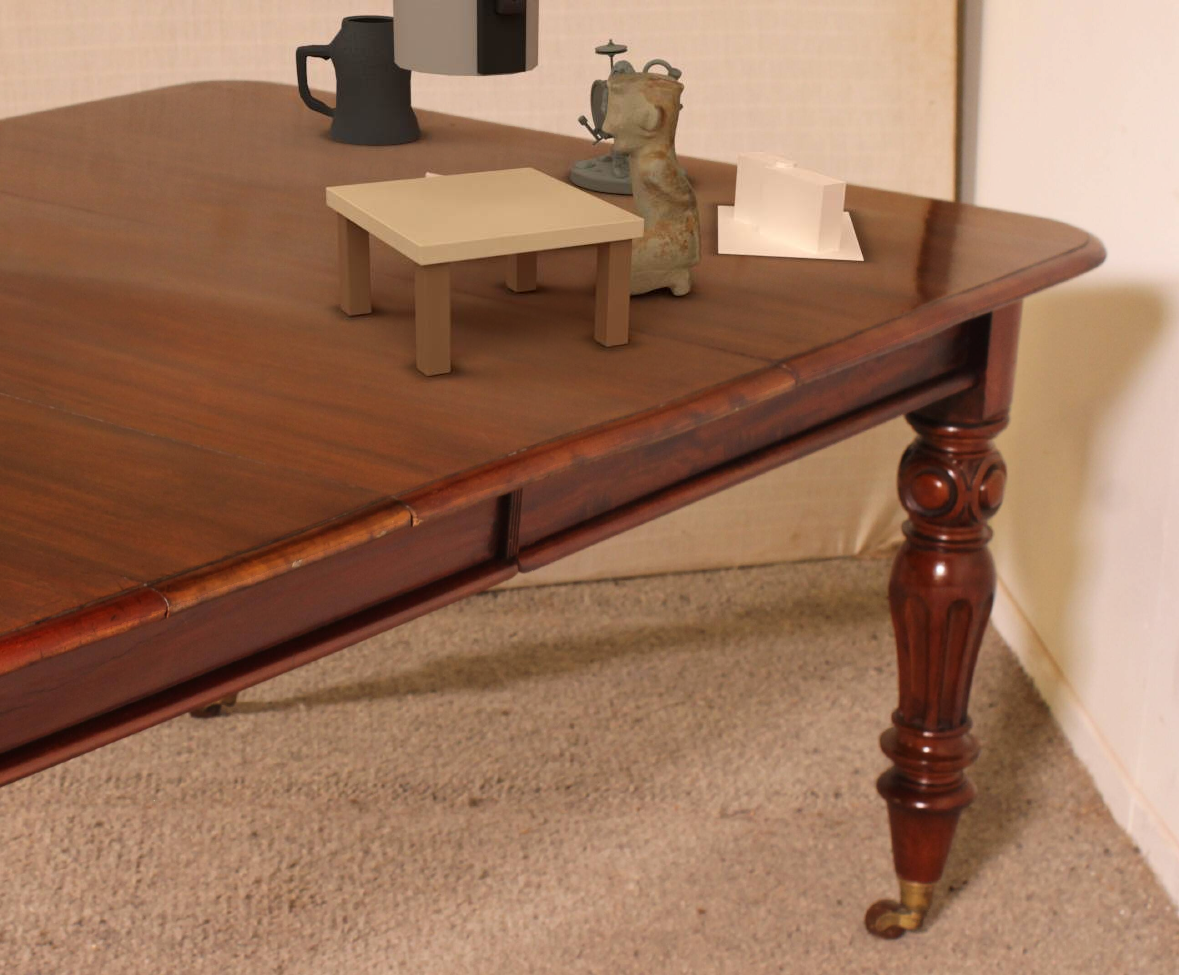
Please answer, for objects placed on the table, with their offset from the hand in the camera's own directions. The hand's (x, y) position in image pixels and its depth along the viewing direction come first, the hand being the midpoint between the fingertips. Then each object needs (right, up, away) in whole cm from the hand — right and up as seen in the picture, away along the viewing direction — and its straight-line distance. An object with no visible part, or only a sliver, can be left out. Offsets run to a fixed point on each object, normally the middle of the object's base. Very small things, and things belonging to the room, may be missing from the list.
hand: (467, 59), depth 88 cm
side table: (0, -15, +9) cm, 17 cm away
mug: (-16, +10, +62) cm, 64 cm away
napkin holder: (+23, -5, +33) cm, 41 cm away
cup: (0, 0, 0) cm, 0 cm away
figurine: (+11, +2, +48) cm, 49 cm away
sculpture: (+11, -12, +18) cm, 24 cm away
